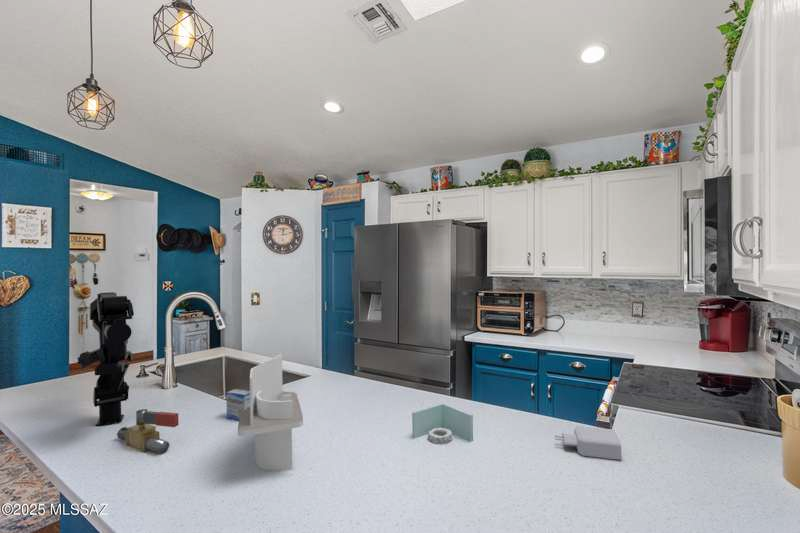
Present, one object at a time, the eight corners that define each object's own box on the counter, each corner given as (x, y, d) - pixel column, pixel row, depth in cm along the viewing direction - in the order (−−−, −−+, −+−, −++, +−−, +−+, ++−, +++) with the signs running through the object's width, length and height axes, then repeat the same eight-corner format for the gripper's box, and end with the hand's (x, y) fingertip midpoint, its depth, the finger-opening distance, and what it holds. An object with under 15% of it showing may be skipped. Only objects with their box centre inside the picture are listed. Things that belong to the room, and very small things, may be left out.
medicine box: (226, 418, 128) (225, 392, 128) (236, 413, 132) (236, 388, 132) (245, 422, 125) (244, 394, 125) (255, 417, 130) (254, 390, 129)
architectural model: (322, 472, 94) (321, 374, 94) (226, 490, 87) (224, 384, 87) (309, 427, 121) (308, 351, 121) (234, 438, 114) (233, 357, 114)
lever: (142, 421, 111) (142, 408, 111) (180, 424, 108) (179, 412, 108) (134, 424, 109) (133, 412, 109) (172, 428, 106) (172, 415, 106)
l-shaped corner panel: (412, 438, 112) (412, 412, 112) (443, 427, 119) (443, 402, 119) (441, 454, 103) (440, 425, 103) (473, 441, 110) (472, 414, 110)
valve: (115, 441, 113) (115, 420, 113) (130, 435, 116) (130, 415, 116) (155, 456, 103) (155, 433, 103) (170, 450, 107) (170, 428, 107)
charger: (553, 439, 110) (613, 445, 106) (556, 454, 101) (621, 462, 97) (553, 422, 110) (612, 428, 106) (556, 436, 101) (621, 443, 97)
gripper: (89, 336, 122) (90, 386, 122) (70, 347, 105) (71, 406, 105) (132, 333, 126) (133, 381, 126) (121, 343, 110) (122, 399, 110)
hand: (115, 391), depth 117 cm, fingers closed
